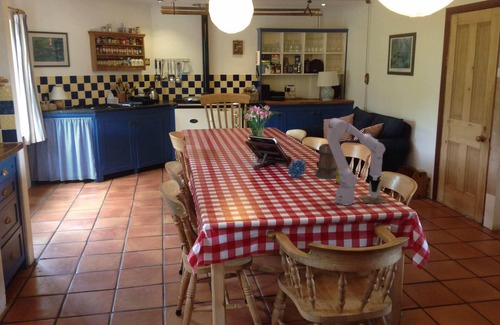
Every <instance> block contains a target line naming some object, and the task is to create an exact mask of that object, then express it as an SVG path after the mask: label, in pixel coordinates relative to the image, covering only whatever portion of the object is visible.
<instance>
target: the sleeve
mask: <svg viewBox="0 0 500 325" xmlns="http://www.w3.org/2000/svg"><path fill="white" fill-rule="evenodd" d="M368 185H369V186H368V195H371V194H376V195H377V196H381V182H379V184H378V188H377V191H376V192H372V188H371V182H370V181H369V184H368Z"/></svg>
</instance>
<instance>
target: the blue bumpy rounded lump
mask: <svg viewBox="0 0 500 325" xmlns="http://www.w3.org/2000/svg"><path fill="white" fill-rule="evenodd" d="M307 168H308V167H307V165H306V161H305V160H302V159H301V158H298V159H297V160H293V161H292V162H291V164H289V166H288V169H289V170H288V171H287V174H288V175H290V178H296V179H298V178H300V176H303V175H304V174H305V171H306V170H307Z"/></svg>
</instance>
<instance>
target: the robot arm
mask: <svg viewBox="0 0 500 325" xmlns="http://www.w3.org/2000/svg"><path fill="white" fill-rule="evenodd" d="M345 133H350V134H351V135H353V136H354V137H356V138H358V139H359V143H360V144H362V145H363V146H365V147H366V148H368V150H369V151H370V165H369V179H368V181H369V183H370V182H371V188H372V192H376V191H377V188H378V184H379V183H381V181H382V180H381V177H382V176H384V173H382V169H383V168H382V167H383V155H384V153H385V151H386V146H385V145H384V144H383V143H382V142H380V141H379V139H377V138H374V137H373V135H372V134H371V133H363V132H361V131H360V130H359V129H357V128H356V127H355V126H353V125H352V124H351V123H349V122H346V121H345V120H343V119H339V118H337V117H333V118H331V119H330V120H329V122H327V132H326V134H327V136H326V141H327V144H329V146H330V149H331V151H332V154H333V156H334V159H335V161H336V164H337V166H338V169H339V171H338V173H339V180H340V181H341V183H340V185H339V187H338V188H337V189H336V190H335V200H334V203H337V204H339V205H344V206H349V205H352V203H353V204H355V203H357V202H358V201H357V200H356V199H355V188H356V187H355V186H356V185H357V183H358V178H357V176H356V175H355V174H354V173H353V171H352V169H351V167H350V165H349V164H348V162H347V160H346V159H347V158H346V156H345V154H344V152H343V151H344V150H343V149H342V146H341V144H340V141H339V140H340V138H341V137H342V136H343V134H345ZM349 167H350V168H349Z"/></svg>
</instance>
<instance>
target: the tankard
mask: <svg viewBox="0 0 500 325" xmlns="http://www.w3.org/2000/svg"><path fill="white" fill-rule="evenodd" d="M318 154H319V155H318V160H317V161H316V168H317V171H316V172H315V174H314V177H315V178H317V179H322V180H336V171H337V164H336V161H335V159H334V156H333V154H332V151H331V149H330V146H329V144H328V143H322V144H320V146H319V147H318Z"/></svg>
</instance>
